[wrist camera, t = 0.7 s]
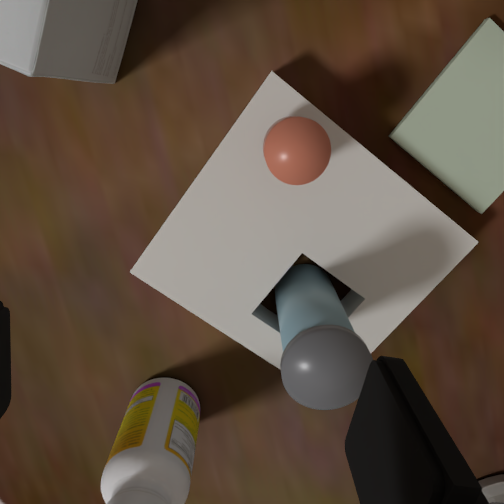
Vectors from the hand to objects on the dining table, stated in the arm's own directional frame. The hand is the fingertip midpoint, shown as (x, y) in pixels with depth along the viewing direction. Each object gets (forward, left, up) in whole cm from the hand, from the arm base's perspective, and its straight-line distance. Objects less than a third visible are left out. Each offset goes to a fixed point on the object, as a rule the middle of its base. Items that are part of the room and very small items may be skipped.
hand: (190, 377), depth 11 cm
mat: (-12, -16, -24) cm, 31 cm away
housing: (-7, 0, -24) cm, 25 cm away
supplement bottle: (-7, +20, -25) cm, 33 cm away
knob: (-1, -6, -22) cm, 23 cm away
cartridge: (-10, +3, -24) cm, 26 cm away
